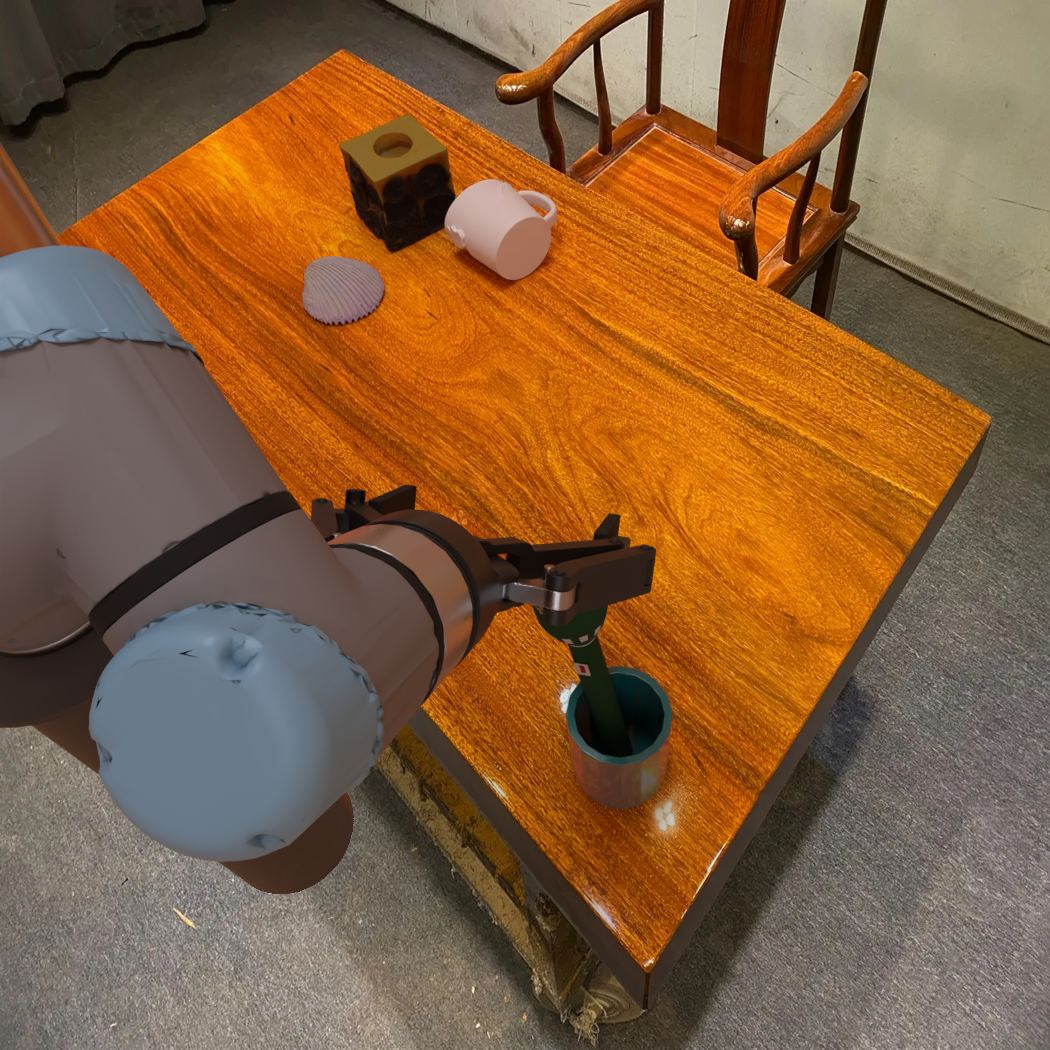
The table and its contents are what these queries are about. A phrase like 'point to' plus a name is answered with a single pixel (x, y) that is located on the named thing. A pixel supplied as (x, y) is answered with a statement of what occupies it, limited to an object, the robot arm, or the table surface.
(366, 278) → the seashell
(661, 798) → the table surface
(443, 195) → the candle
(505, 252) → the mug
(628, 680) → the cup
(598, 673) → the flashlight
